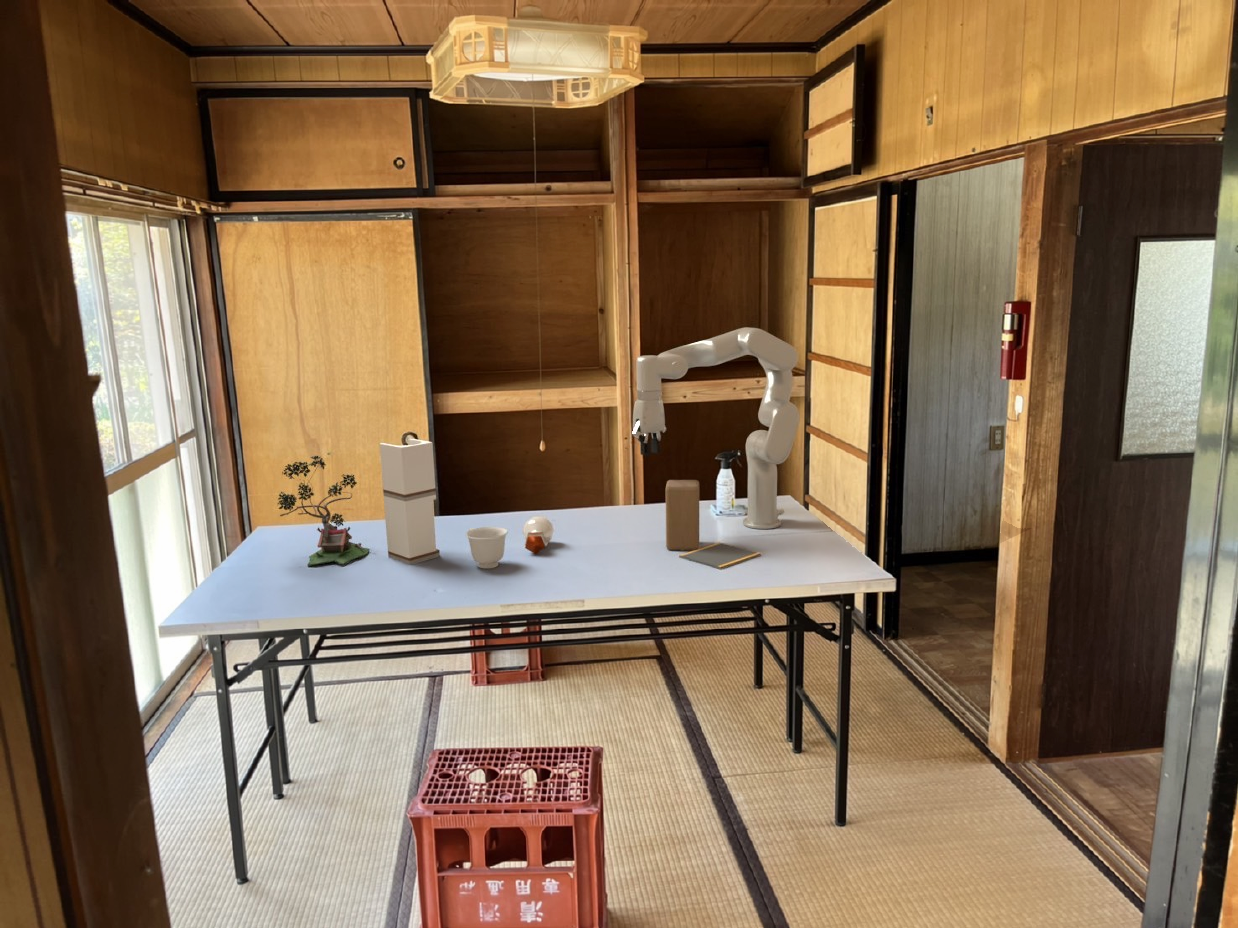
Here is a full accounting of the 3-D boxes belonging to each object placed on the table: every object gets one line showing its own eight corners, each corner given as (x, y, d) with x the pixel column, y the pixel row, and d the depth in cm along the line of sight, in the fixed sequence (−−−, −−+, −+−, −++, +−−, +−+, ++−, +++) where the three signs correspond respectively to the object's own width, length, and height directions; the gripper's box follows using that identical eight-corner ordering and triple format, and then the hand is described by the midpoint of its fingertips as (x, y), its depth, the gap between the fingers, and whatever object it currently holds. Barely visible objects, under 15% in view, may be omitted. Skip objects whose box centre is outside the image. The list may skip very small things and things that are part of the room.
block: (699, 541, 271) (699, 479, 267) (699, 551, 261) (699, 486, 257) (667, 541, 272) (666, 479, 268) (666, 550, 262) (665, 486, 258)
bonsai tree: (300, 545, 275) (290, 448, 269) (377, 543, 276) (369, 446, 270) (257, 582, 241) (245, 471, 235) (345, 579, 242) (336, 469, 235)
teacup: (487, 554, 262) (485, 522, 260) (517, 565, 251) (516, 531, 249) (453, 563, 254) (451, 531, 252) (483, 575, 243) (481, 540, 241)
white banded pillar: (439, 556, 261) (432, 442, 254) (409, 564, 254) (401, 447, 247) (418, 549, 269) (410, 438, 262) (388, 557, 261) (379, 443, 254)
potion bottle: (544, 544, 276) (540, 564, 262) (519, 528, 275) (513, 547, 260) (560, 522, 274) (557, 540, 260) (534, 505, 272) (530, 523, 258)
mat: (719, 544, 267) (719, 542, 267) (760, 555, 255) (760, 553, 255) (679, 557, 255) (679, 555, 255) (720, 569, 244) (720, 567, 243)
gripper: (659, 392, 276) (660, 448, 279) (621, 397, 265) (622, 456, 268) (676, 394, 270) (677, 451, 274) (637, 399, 259) (639, 459, 263)
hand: (649, 453), depth 271 cm, fingers open, 3 cm apart
